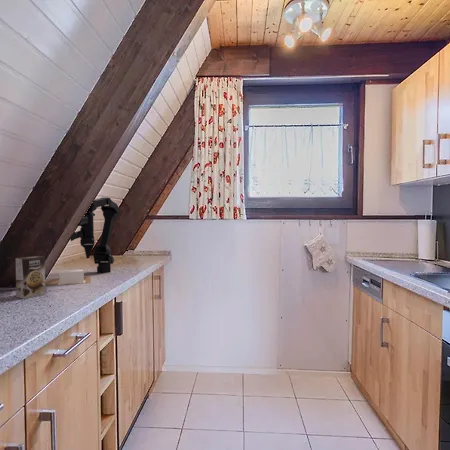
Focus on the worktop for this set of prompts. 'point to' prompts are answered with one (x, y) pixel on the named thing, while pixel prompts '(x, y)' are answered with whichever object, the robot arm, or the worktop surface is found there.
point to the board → (57, 282)
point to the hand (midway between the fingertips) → (87, 257)
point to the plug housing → (71, 276)
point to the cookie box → (30, 276)
